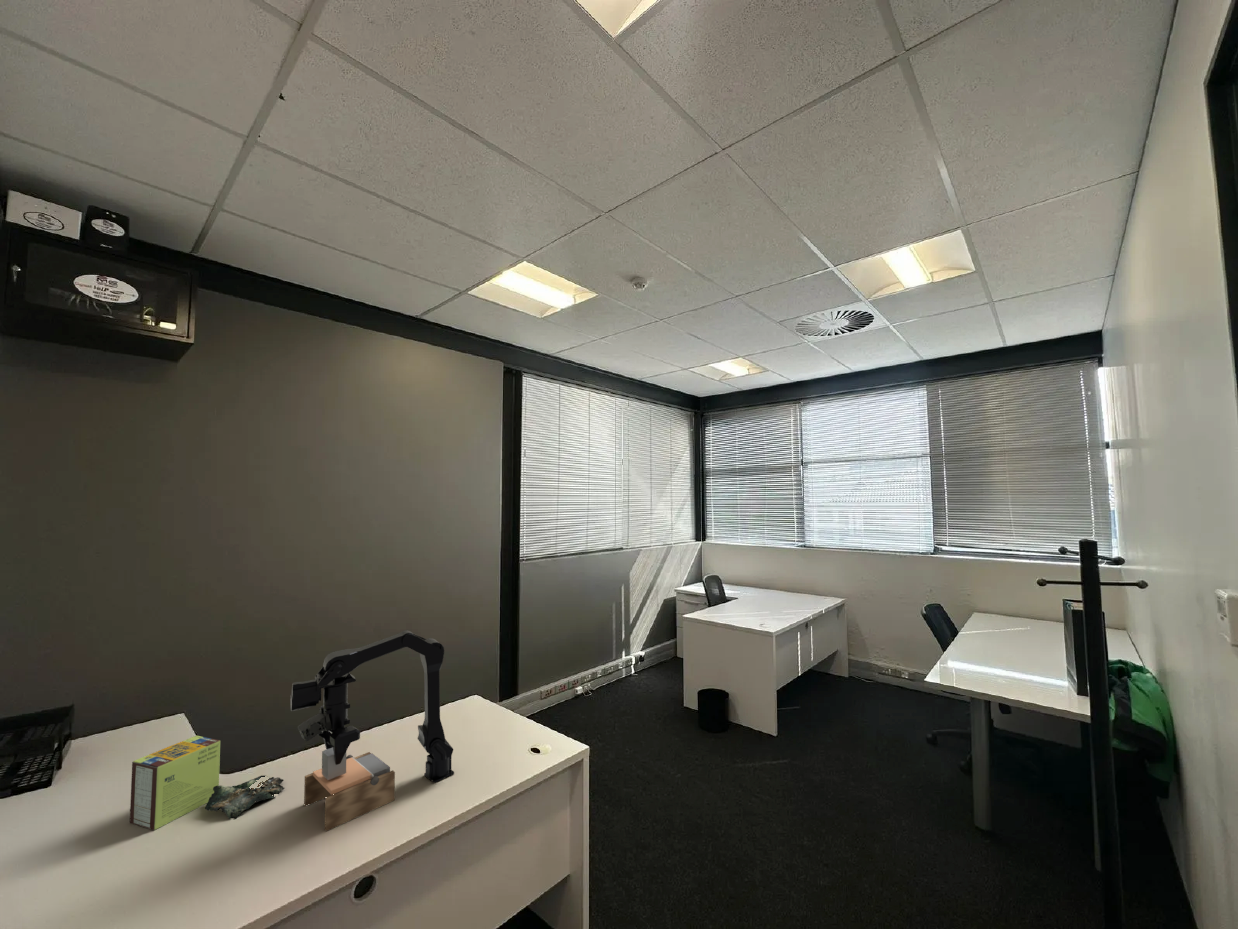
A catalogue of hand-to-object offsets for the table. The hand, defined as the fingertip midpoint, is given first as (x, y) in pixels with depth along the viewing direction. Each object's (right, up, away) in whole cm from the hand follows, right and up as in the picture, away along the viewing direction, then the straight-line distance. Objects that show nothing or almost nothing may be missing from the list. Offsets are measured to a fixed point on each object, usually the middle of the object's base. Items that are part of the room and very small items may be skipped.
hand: (334, 761), depth 136 cm
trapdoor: (+3, -9, +3) cm, 10 cm away
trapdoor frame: (+3, -13, +2) cm, 13 cm away
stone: (0, -3, 0) cm, 3 cm away
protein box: (-43, -14, 0) cm, 45 cm away
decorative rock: (-27, -14, +5) cm, 30 cm away
